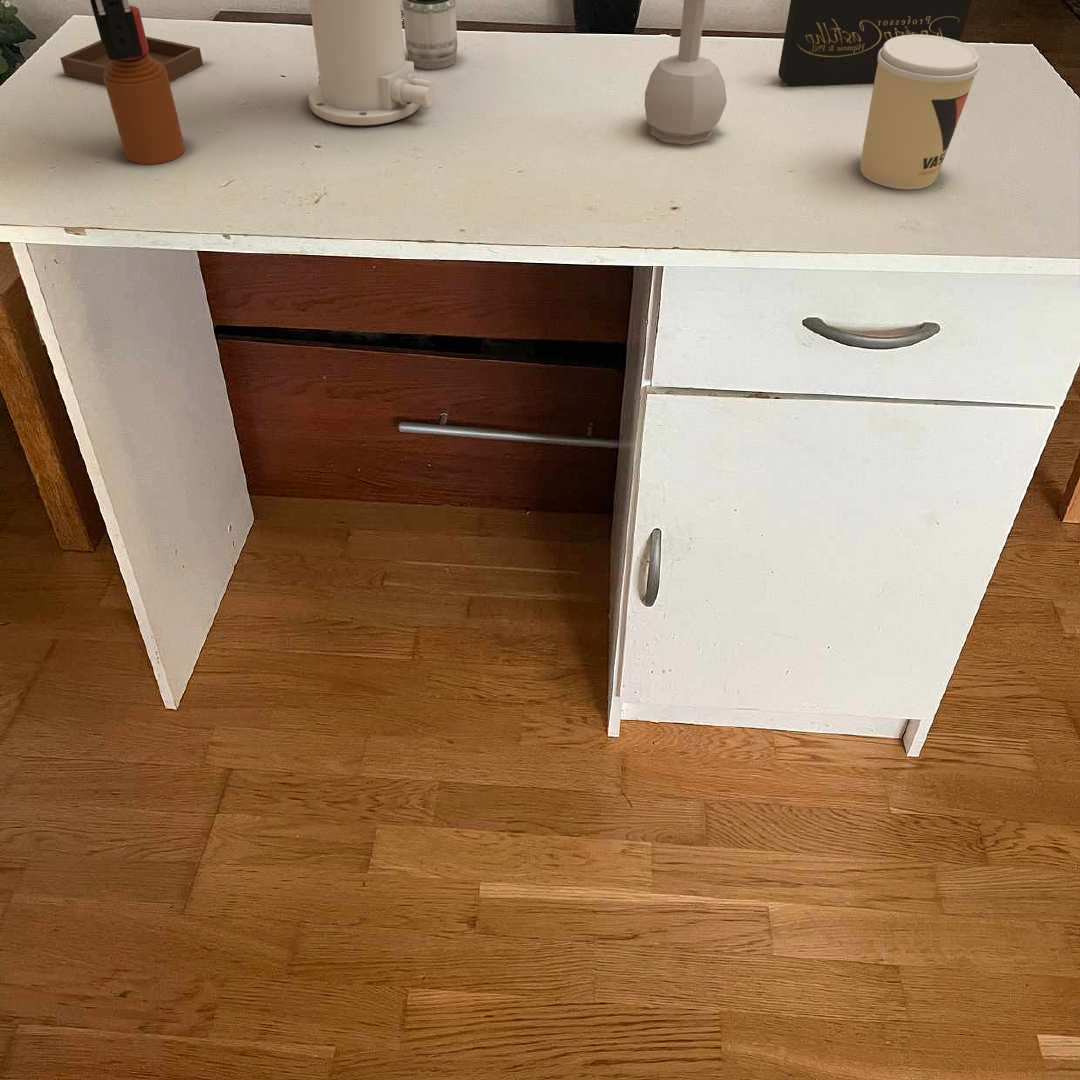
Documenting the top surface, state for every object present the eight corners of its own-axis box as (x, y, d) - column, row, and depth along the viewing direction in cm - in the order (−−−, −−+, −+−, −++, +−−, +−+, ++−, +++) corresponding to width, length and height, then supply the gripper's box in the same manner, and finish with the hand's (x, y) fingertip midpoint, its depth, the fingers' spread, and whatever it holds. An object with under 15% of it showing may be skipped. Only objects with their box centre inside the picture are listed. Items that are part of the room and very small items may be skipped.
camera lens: (456, 51, 127) (453, -18, 121) (459, 69, 123) (457, -1, 117) (405, 52, 126) (400, -17, 121) (407, 71, 122) (402, 1, 116)
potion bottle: (730, 123, 112) (756, -60, 100) (705, 154, 107) (729, -35, 94) (656, 109, 115) (672, -71, 102) (627, 138, 109) (641, -48, 97)
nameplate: (942, 74, 124) (967, -16, 116) (948, 80, 122) (975, -11, 115) (776, 80, 121) (792, -11, 114) (781, 86, 120) (797, -5, 113)
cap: (100, 55, 98) (89, 15, 95) (124, 42, 100) (114, 2, 97) (133, 61, 97) (123, 20, 94) (156, 48, 99) (147, 8, 97)
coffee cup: (929, 202, 100) (967, 76, 91) (838, 178, 103) (866, 55, 95) (955, 167, 105) (993, 45, 97) (868, 145, 109) (898, 26, 100)
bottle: (197, 146, 106) (166, 13, 97) (159, 169, 103) (123, 33, 93) (151, 134, 108) (117, 3, 99) (112, 157, 104) (73, 22, 95)
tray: (203, 64, 123) (199, 47, 121) (146, 94, 116) (141, 76, 115) (125, 48, 126) (120, 30, 125) (65, 75, 120) (59, 57, 118)
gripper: (122, -164, 81) (177, 74, 94) (95, -200, 91) (148, 17, 104) (22, -157, 79) (93, 86, 91) (6, -195, 89) (72, 27, 102)
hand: (122, 47), depth 98 cm, fingers closed on cap, 3 cm apart
